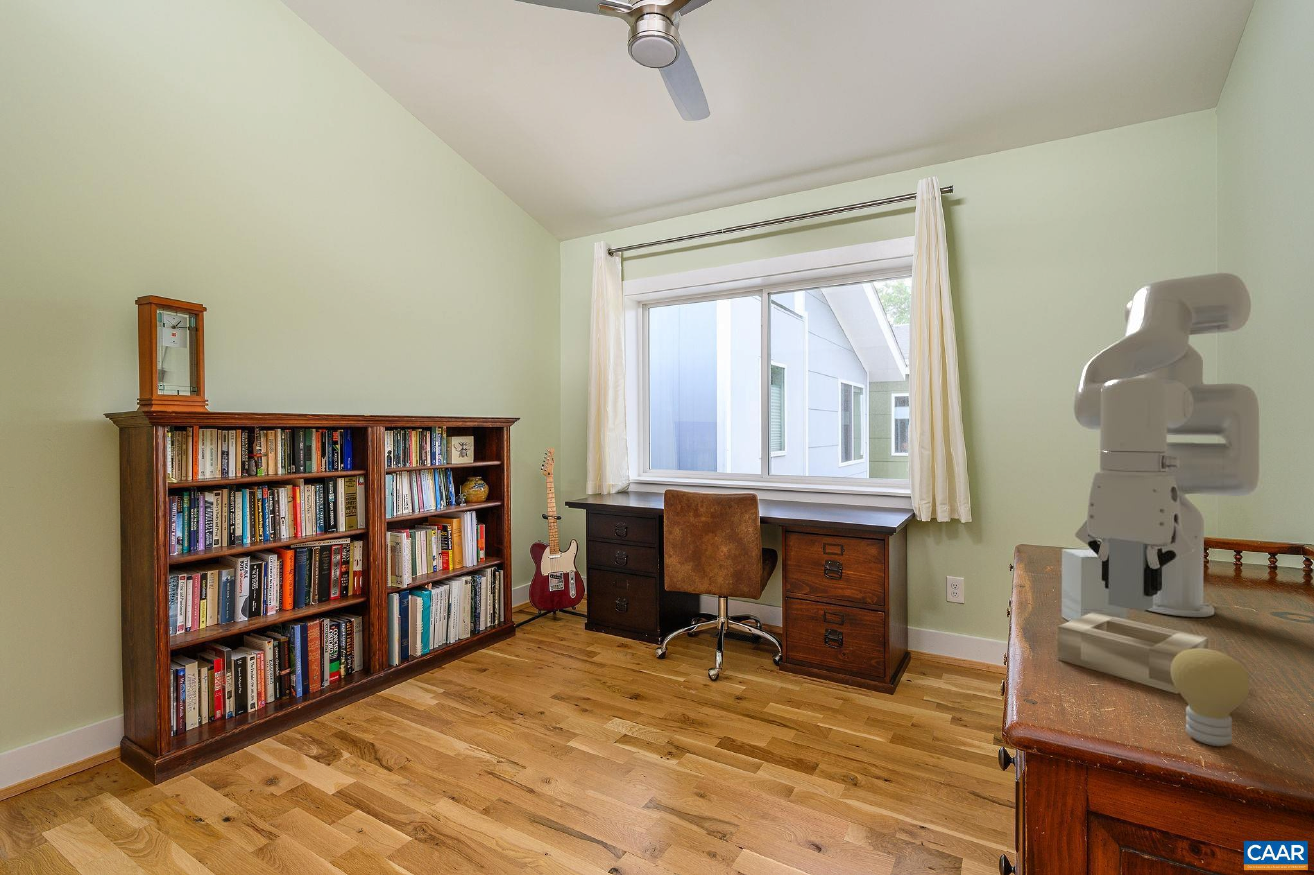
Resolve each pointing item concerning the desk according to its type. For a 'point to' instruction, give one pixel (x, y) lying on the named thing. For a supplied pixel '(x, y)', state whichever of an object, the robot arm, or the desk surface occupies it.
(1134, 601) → the grey rectangular prism
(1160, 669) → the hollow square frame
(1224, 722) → the light bulb
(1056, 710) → the desk surface
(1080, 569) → the supplement box
